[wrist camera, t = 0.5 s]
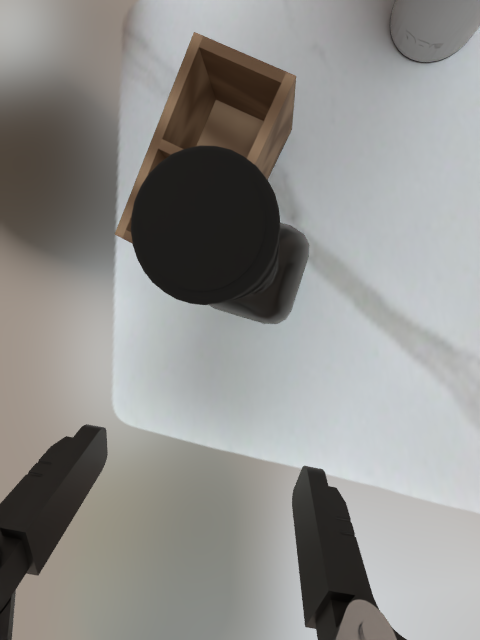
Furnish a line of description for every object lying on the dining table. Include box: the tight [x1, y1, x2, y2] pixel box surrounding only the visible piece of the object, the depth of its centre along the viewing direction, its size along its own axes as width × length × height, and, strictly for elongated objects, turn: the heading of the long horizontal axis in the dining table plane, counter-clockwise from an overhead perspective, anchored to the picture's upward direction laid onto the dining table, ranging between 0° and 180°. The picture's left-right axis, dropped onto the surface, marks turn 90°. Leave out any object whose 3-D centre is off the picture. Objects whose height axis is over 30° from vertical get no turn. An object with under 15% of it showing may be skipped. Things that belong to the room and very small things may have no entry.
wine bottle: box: [131, 145, 309, 324], centre depth 20 cm, size 6×6×30 cm
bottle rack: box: [115, 32, 296, 244], centre depth 30 cm, size 21×11×8 cm, turn 153°
